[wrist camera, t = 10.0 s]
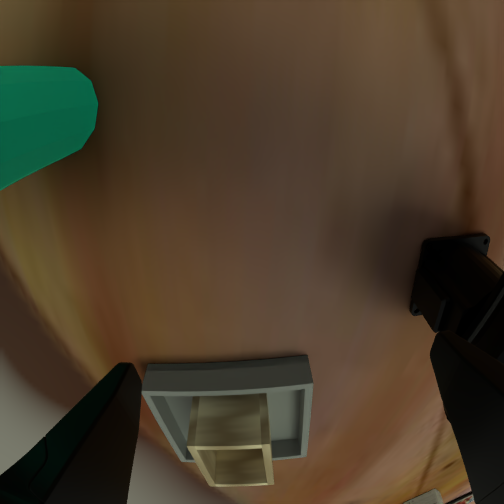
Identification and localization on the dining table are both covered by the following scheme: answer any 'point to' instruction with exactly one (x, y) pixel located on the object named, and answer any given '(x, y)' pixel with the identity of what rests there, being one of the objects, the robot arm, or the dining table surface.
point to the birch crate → (231, 439)
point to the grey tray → (234, 383)
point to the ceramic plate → (463, 499)
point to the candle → (42, 117)
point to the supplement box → (427, 498)
